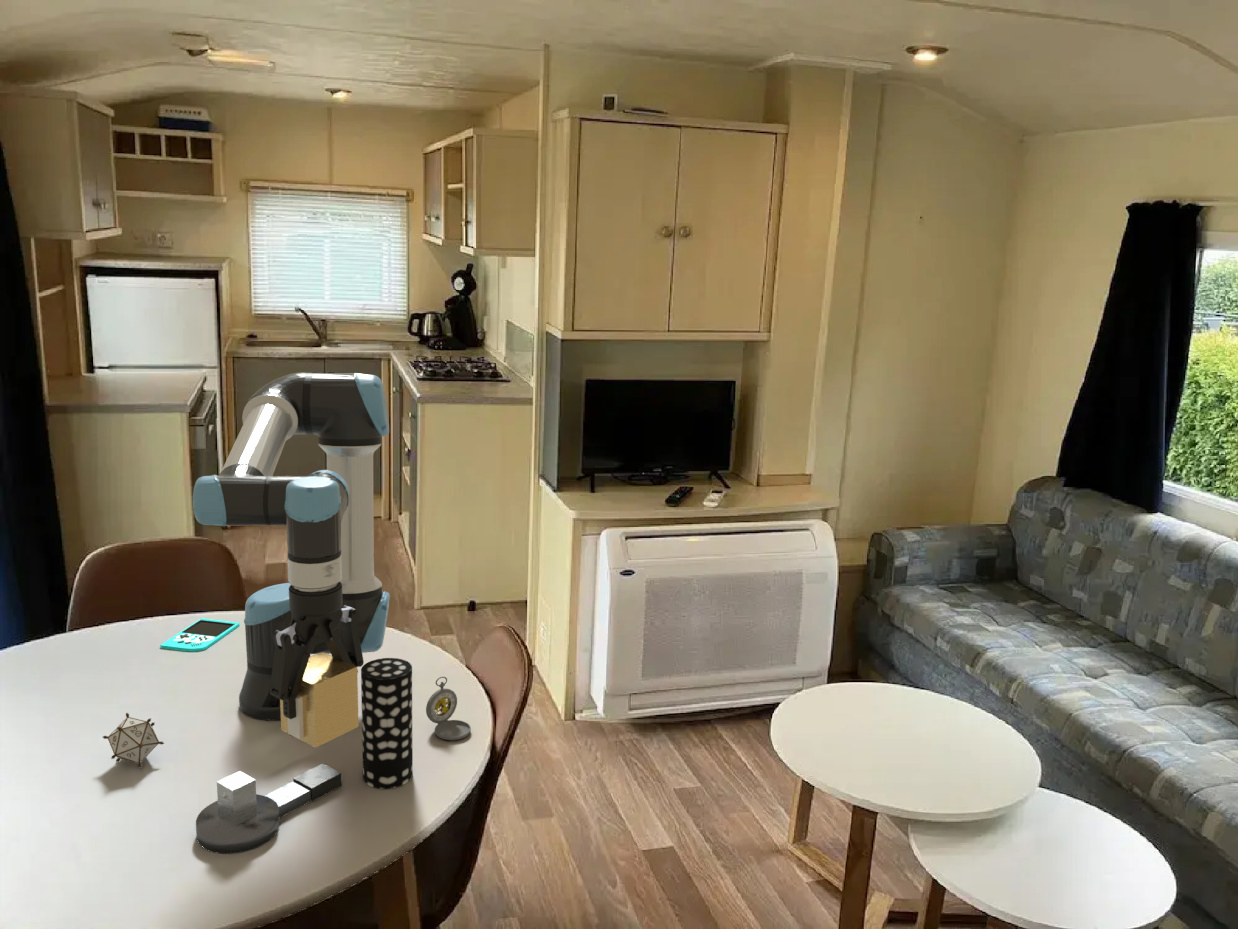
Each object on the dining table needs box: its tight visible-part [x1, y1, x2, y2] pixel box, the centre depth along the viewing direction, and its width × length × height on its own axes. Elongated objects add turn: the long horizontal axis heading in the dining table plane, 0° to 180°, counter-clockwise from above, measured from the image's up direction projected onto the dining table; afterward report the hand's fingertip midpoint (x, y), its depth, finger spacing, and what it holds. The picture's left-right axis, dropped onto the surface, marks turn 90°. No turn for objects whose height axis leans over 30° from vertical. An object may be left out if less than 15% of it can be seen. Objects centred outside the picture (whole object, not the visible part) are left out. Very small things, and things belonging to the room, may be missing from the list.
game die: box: [102, 712, 165, 769], centre depth 171 cm, size 9×8×10 cm
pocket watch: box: [425, 676, 472, 741], centre depth 186 cm, size 8×8×10 cm
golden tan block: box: [280, 652, 359, 748], centre depth 150 cm, size 8×8×10 cm
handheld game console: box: [160, 618, 240, 652], centre depth 223 cm, size 10×16×1 cm, turn 170°
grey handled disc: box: [195, 763, 343, 855], centre depth 158 cm, size 24×12×8 cm, turn 145°
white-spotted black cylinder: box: [360, 657, 414, 790], centre depth 168 cm, size 8×8×20 cm
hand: (319, 723), depth 151 cm, fingers closed on golden tan block, 8 cm apart
